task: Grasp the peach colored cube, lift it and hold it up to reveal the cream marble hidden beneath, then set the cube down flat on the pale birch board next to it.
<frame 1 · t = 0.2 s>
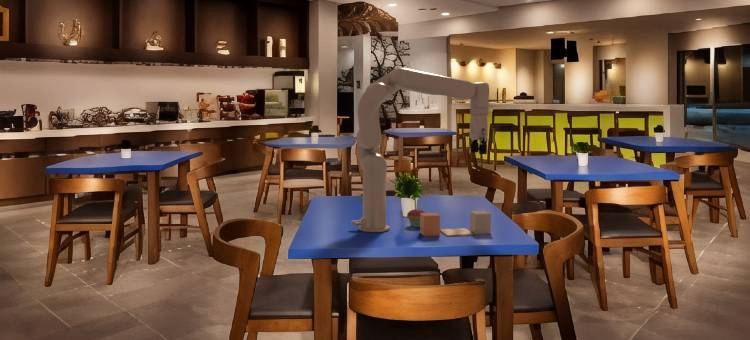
hand: (478, 153, 257), 31 cm above the table, fingers open, 9 cm apart
cream marble: (429, 230, 244), in the peach colored cube
peach colored cube: (429, 234, 244), on the table
cupcake: (416, 226, 260), on the table
beige block: (480, 232, 247), on the table
birch board: (456, 233, 246), on the table
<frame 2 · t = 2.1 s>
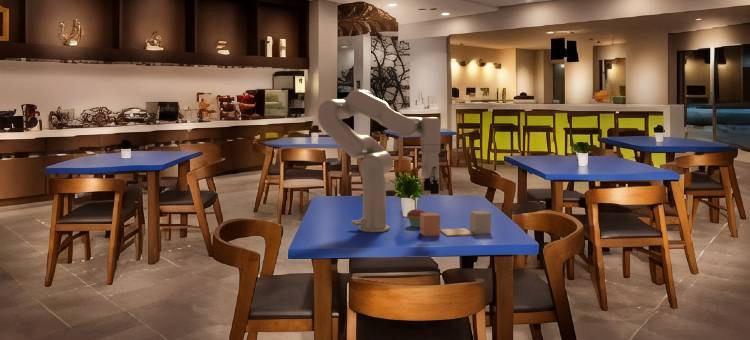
hand: (431, 192, 242), 17 cm above the table, fingers open, 9 cm apart
nothing on the table moved.
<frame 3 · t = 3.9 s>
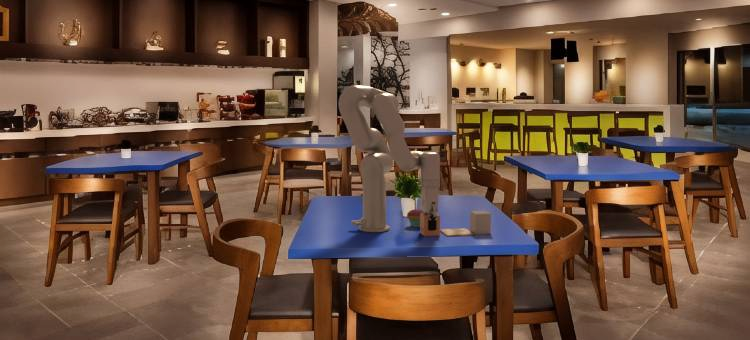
hand: (429, 228, 243), 2 cm above the table, fingers closed on peach colored cube, 6 cm apart
peach colored cube: (429, 234, 244), on the table, touching gripper
everything else where it was.
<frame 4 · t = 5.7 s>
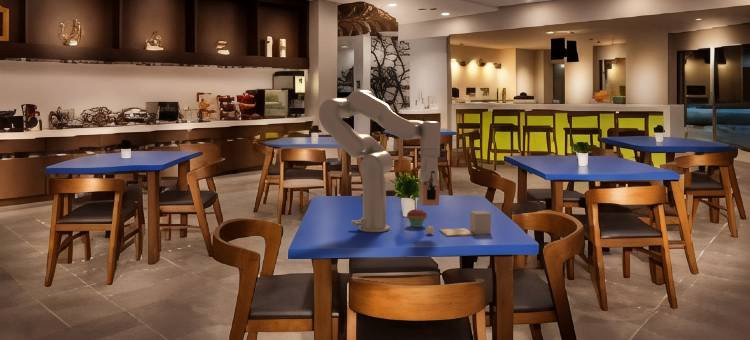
hand: (428, 197, 242), 15 cm above the table, fingers closed on peach colored cube, 6 cm apart
peach colored cube: (428, 203, 243), point 12 cm above the table, touching gripper
everything else where it was.
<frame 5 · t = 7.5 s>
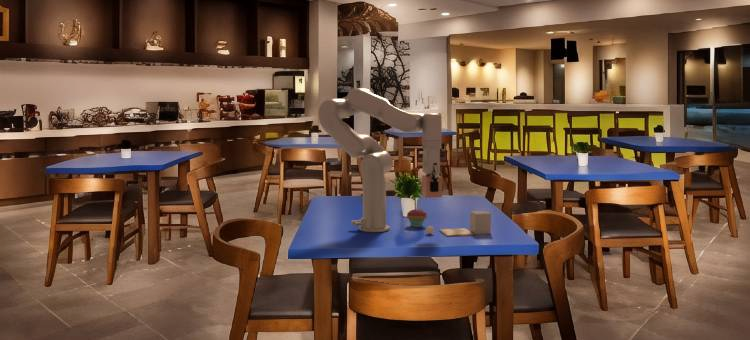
hand: (431, 190, 242), 18 cm above the table, fingers closed on peach colored cube, 6 cm apart
peach colored cube: (431, 196, 242), point 15 cm above the table, touching gripper
everything else where it was.
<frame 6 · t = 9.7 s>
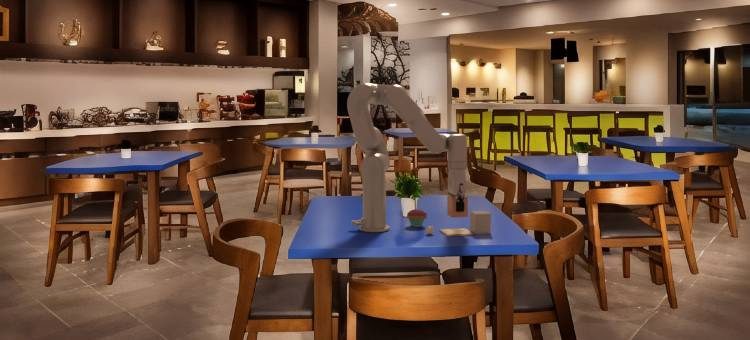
hand: (457, 209, 245), 9 cm above the table, fingers closed on peach colored cube, 6 cm apart
peach colored cube: (457, 215, 245), point 7 cm above the table, touching gripper
everything else where it was.
when the fingers open (5 cm above the table, at t = 11.5 s): peach colored cube drops 1 cm, resting on birch board.
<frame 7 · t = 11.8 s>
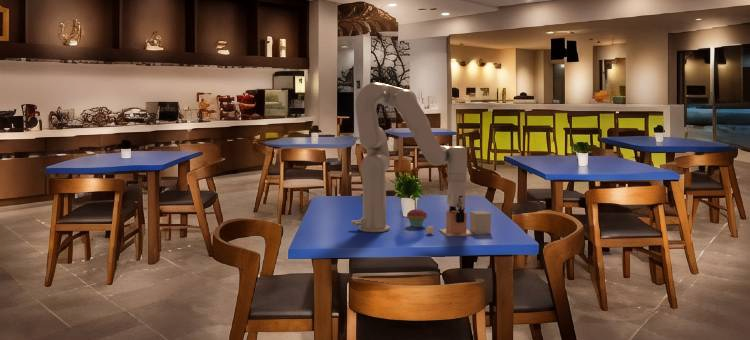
hand: (456, 220, 245), 5 cm above the table, fingers open, 9 cm apart
peach colored cube: (456, 231, 246), point 1 cm above the table, touching birch board
everything else where it was.
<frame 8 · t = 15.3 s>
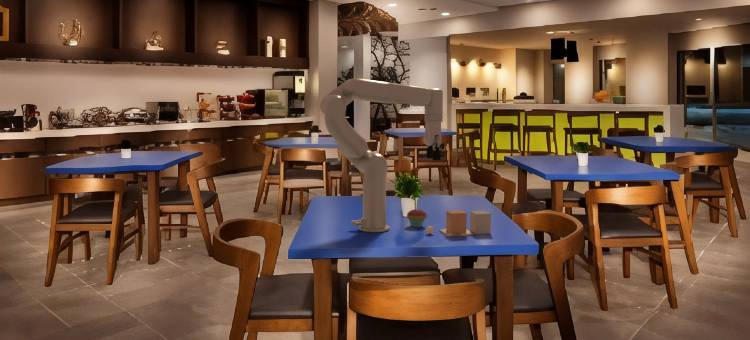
hand: (433, 159, 258), 28 cm above the table, fingers open, 9 cm apart
nothing on the table moved.
at the end: peach colored cube 0.1 cm off-centre on the birch board, point 0.6 cm above the birch board's base; peach colored cube tilted 0°; the gripper is holding nothing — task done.
